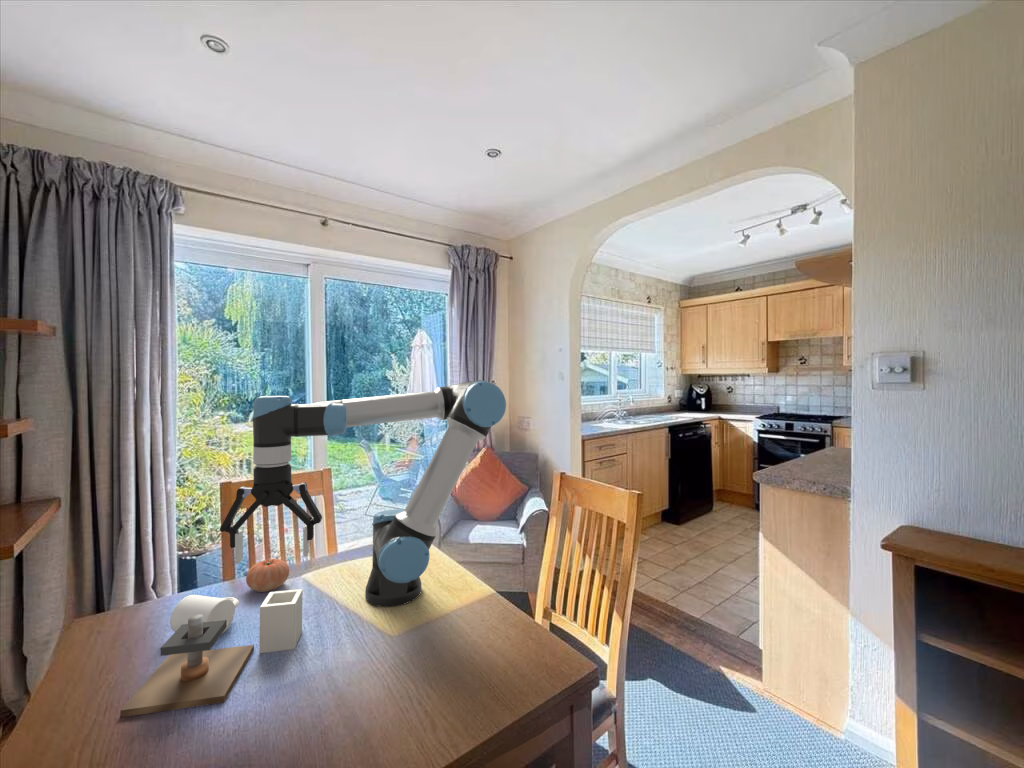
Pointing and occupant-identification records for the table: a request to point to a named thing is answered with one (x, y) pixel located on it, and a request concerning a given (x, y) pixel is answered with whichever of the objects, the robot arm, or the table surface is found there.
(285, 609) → the sleeve
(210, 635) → the ring
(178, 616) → the mug
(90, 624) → the table surface
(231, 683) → the peg stacking board
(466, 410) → the robot arm
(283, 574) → the pumpkin
